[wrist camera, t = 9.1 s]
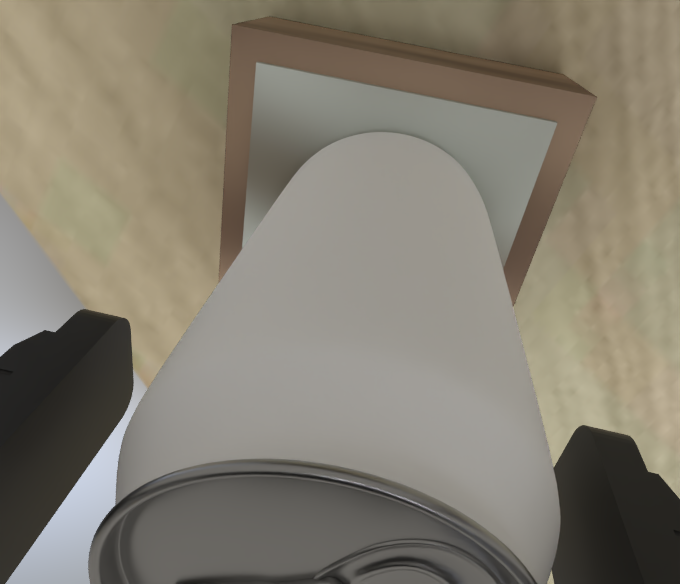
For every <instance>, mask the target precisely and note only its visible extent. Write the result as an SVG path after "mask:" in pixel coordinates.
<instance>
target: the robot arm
mask: <svg viewBox="0 0 680 584" xmlns="http://www.w3.org/2000/svg"><path fill="white" fill-rule="evenodd" d="M132 392H133V364H132V345H131V329H130V324H129V322H128V320H127V319H125V318H122V317H117V316H113V315H108V314H104V313H100V312H95V311H91V310H87V309H83V310H80V311H78V312H77V313H76V314H75V315H73V316H72V317H71V318H70V319H69V320H68V321H67V322H66V323H65V324H64V325H63V326H62V327H61V328H60V329H58V330H57V331H56V332H50V331H46V330H44V331H43V332H40V333H38V334H36V335H34V336H32V337H30V338H28V339H26V340H24V341H21V342H19V343H17V344H15V345H13V346H12V347H11V348H10V349H9V350H8V351H7V352H5V353H4V354H3V355H2V356H1V357H0V584H5V583H6V582H7V580H8V579H9V577H10V576H11V574H12V573H13V572H14V570H15V569H16V567H17V566H18V565H19V563H20V562H21V560H22V559H23V558H24V556H25V555H26V553H27V552H28V551H29V549H30V548H31V546H32V545H33V544H34V542H35V541H36V539H37V538H38V536H39V535H40V534H41V532H42V531H43V529H44V528H45V527H46V525H47V523H48V522H49V521H50V519H51V518H52V517H53V515H54V514H55V512H56V511H57V509H58V508H59V507H60V505H61V504H62V502H63V501H64V500H65V498H66V497H67V495H68V494H69V492H70V491H71V490H72V488H73V487H74V485H75V484H76V483H77V481H78V479H79V478H80V477H81V475H82V474H83V473H84V471H85V470H86V468H87V467H88V465H89V464H90V463H91V461H92V460H93V458H94V457H95V456H96V454H97V453H98V451H99V450H100V449H101V447H102V446H103V444H104V443H105V441H106V440H107V439H108V437H109V436H110V434H111V433H112V432H113V430H114V428H115V427H116V426H117V424H118V423H119V422H120V420H121V419H122V417H123V416H124V414H125V412H126V410H127V408H128V405H129V403H130V400H131V396H132ZM554 473H555V478H556V482H557V488H558V496H559V505H560V516H561V518H560V534H559V540H558V546H557V551H556V555H555V559H554V562H553V566H552V574H553V579H554V584H680V499H679V498H678V497H677V495H676V494H675V493H674V492H673V491H672V490H671V488H670V487H669V486H668V485H667V484H666V483H665V481H664V480H663V479H662V478H661V477H660V476H659V474H655V473H651V472H648V471H647V468H646V466H645V464H644V461H643V459H642V457H641V454H640V452H639V450H638V448H637V445H636V443H635V441H634V440H633V439H632V438H631V437H630V436H628V435H624V434H620V433H616V432H611V431H607V430H603V429H598V428H594V427H590V426H585V425H582V426H580V427H578V428H577V429H576V430H575V432H574V433H573V435H572V437H571V439H570V440H569V442H568V444H567V446H566V447H565V449H564V451H563V453H562V454H561V456H560V458H559V460H558V462H557V463H556V465H555V467H554Z"/></svg>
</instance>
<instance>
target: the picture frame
mask: <svg viewBox="0 0 680 584" xmlns="http://www.w3.org/2000/svg"><path fill="white" fill-rule="evenodd" d="M596 98H597V97H596V96H595V95H593V94H592V93H590V92H589V91H587V90H586V89H584V88H583V87H581V86H580V85H578V84H577V83H575V82H574V81H572V80H571V79H569V78H568V77H566V76H565V75H563V74H558V73H553V72H548V71H543V70H538V69H532V68H527V67H522V66H517V65H512V64H507V63H502V62H497V61H492V60H487V59H482V58H477V57H472V56H467V55H462V54H457V53H451V52H446V51H441V50H436V49H431V48H426V47H421V46H416V45H411V44H406V43H401V42H396V41H391V40H386V39H381V38H376V37H370V36H365V35H360V34H355V33H350V32H345V31H340V30H335V29H330V28H325V27H320V26H315V25H310V24H305V23H300V22H294V21H289V20H284V19H279V18H274V17H265V18H260V19H255V20H251V21H246V22H241V23H237V24H232V35H231V54H230V73H229V93H228V112H227V131H226V150H225V169H224V188H223V207H222V226H221V246H220V265H219V282H220V281H221V279H222V278H223V276H224V275H225V273H226V272H227V270H228V269H229V268H230V266H231V265H232V263H233V262H234V260H235V259H236V257H237V256H238V254H239V253H240V252H241V250H242V249H243V247H244V246H245V244H246V243H247V241H248V240H249V238H250V237H251V236H252V234H253V233H254V231H255V230H256V228H257V227H258V226H259V224H260V223H261V221H262V220H263V218H264V217H265V215H266V214H267V213H268V211H269V210H270V208H271V207H272V205H273V204H274V203H275V201H276V200H277V198H278V197H279V195H280V194H281V193H282V191H283V190H284V188H285V187H286V186H287V184H288V183H289V182H290V180H291V179H292V177H293V176H294V175H295V174H296V172H297V171H298V170H299V169H300V168H301V167H302V165H303V164H304V163H305V162H306V161H308V160H309V159H310V158H311V157H312V156H313V155H315V154H316V153H317V152H319V151H320V150H321V149H323V148H325V147H326V146H328V145H330V144H332V143H334V142H336V141H338V140H341V139H343V138H346V137H350V136H353V135H358V134H363V133H370V132H392V133H400V134H405V135H409V136H413V137H416V138H419V139H422V140H424V141H427V142H429V143H431V144H433V145H435V146H437V147H438V148H440V149H442V150H443V151H445V152H446V153H447V154H449V155H450V156H451V157H453V158H454V159H455V160H456V161H457V162H458V163H459V164H460V165H461V166H462V167H463V169H464V170H465V171H466V172H467V174H468V175H469V176H470V178H471V179H472V181H473V183H474V184H475V186H476V188H477V190H478V192H479V193H480V195H481V197H482V200H483V202H484V205H485V207H486V210H487V213H488V217H489V220H490V223H491V227H492V230H493V234H494V238H495V241H496V245H497V249H498V252H499V256H500V260H501V264H502V267H503V271H504V275H505V279H506V282H507V286H508V290H509V294H510V297H511V301H512V305H513V306H514V303H515V301H516V298H517V296H518V293H519V291H520V288H521V286H522V283H523V281H524V278H525V276H526V273H527V271H528V268H529V266H530V263H531V261H532V258H533V256H534V253H535V251H536V248H537V246H538V243H539V241H540V238H541V236H542V233H543V231H544V228H545V226H546V223H547V221H548V218H549V216H550V213H551V211H552V208H553V206H554V203H555V201H556V198H557V196H558V193H559V191H560V188H561V186H562V183H563V181H564V178H565V176H566V173H567V171H568V168H569V166H570V163H571V161H572V158H573V156H574V153H575V151H576V148H577V146H578V143H579V141H580V138H581V136H582V133H583V131H584V128H585V126H586V123H587V121H588V118H589V116H590V113H591V111H592V108H593V106H594V103H595V101H596Z"/></svg>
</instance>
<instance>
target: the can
mask: <svg viewBox="0 0 680 584" xmlns="http://www.w3.org/2000/svg"><path fill="white" fill-rule="evenodd" d="M560 518H561V516H560V505H559V496H558V488H557V482H556V478H555V473H554V469H553V464H552V459H551V455H550V450H549V446H548V442H547V438H546V434H545V430H544V426H543V422H542V418H541V414H540V410H539V406H538V402H537V398H536V394H535V390H534V386H533V382H532V378H531V374H530V370H529V367H528V363H527V359H526V355H525V351H524V347H523V343H522V339H521V336H520V332H519V328H518V324H517V320H516V317H515V313H514V309H513V305H512V301H511V297H510V294H509V290H508V286H507V282H506V279H505V275H504V271H503V267H502V264H501V260H500V256H499V252H498V249H497V245H496V241H495V238H494V234H493V230H492V227H491V223H490V220H489V217H488V213H487V210H486V207H485V205H484V202H483V200H482V197H481V195H480V193H479V192H478V190H477V188H476V186H475V184H474V183H473V181H472V179H471V178H470V176H469V175H468V174H467V172H466V171H465V170H464V169H463V167H462V166H461V165H460V164H459V163H458V162H457V161H456V160H455V159H454V158H453V157H451V156H450V155H449V154H447V153H446V152H445V151H443V150H442V149H440V148H438V147H437V146H435V145H433V144H431V143H429V142H427V141H424V140H422V139H419V138H416V137H413V136H409V135H405V134H400V133H392V132H370V133H363V134H358V135H353V136H350V137H346V138H343V139H341V140H338V141H336V142H334V143H332V144H330V145H328V146H326V147H325V148H323V149H321V150H320V151H319V152H317V153H316V154H315V155H313V156H312V157H311V158H310V159H309V160H308V161H306V162H305V163H304V164H303V165H302V167H301V168H300V169H299V170H298V171H297V172H296V174H295V175H294V176H293V177H292V179H291V180H290V182H289V183H288V184H287V186H286V187H285V188H284V190H283V191H282V193H281V194H280V195H279V197H278V198H277V200H276V201H275V203H274V204H273V205H272V207H271V208H270V210H269V211H268V213H267V214H266V215H265V217H264V218H263V220H262V221H261V223H260V224H259V226H258V227H257V228H256V230H255V231H254V233H253V234H252V236H251V237H250V238H249V240H248V241H247V243H246V244H245V246H244V247H243V249H242V250H241V252H240V253H239V254H238V256H237V257H236V259H235V260H234V262H233V263H232V265H231V266H230V268H229V269H228V270H227V272H226V273H225V275H224V276H223V278H222V279H221V281H220V282H219V283H218V285H217V286H216V288H215V289H214V291H213V292H212V294H211V295H210V297H209V298H208V300H207V301H206V303H205V304H204V305H203V307H202V308H201V310H200V311H199V313H198V314H197V316H196V317H195V319H194V320H193V322H192V323H191V325H190V326H189V327H188V329H187V330H186V332H185V333H184V335H183V336H182V338H181V339H180V341H179V342H178V344H177V345H176V347H175V348H174V350H173V351H172V353H171V354H170V356H169V357H168V359H167V360H166V362H165V363H164V365H163V366H162V368H161V369H160V371H159V372H158V374H157V375H156V377H155V379H154V380H153V382H152V383H151V385H150V386H149V388H148V390H147V391H146V393H145V394H144V396H143V398H142V399H141V401H140V402H139V405H138V406H137V408H136V410H135V412H134V414H133V416H132V418H131V420H130V422H129V425H128V426H127V429H126V431H125V434H124V437H123V441H122V445H121V450H120V455H119V461H118V470H117V483H116V505H115V506H114V507H113V508H112V509H111V511H110V512H109V513H108V514H107V515H106V517H105V518H104V520H103V521H102V522H101V524H100V526H99V527H98V529H97V531H96V533H95V535H94V538H93V541H92V544H91V548H90V552H89V561H88V568H89V569H88V570H89V579H90V584H547V581H548V578H549V575H550V572H551V569H552V566H553V562H554V559H555V555H556V551H557V546H558V540H559V534H560Z"/></svg>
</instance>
